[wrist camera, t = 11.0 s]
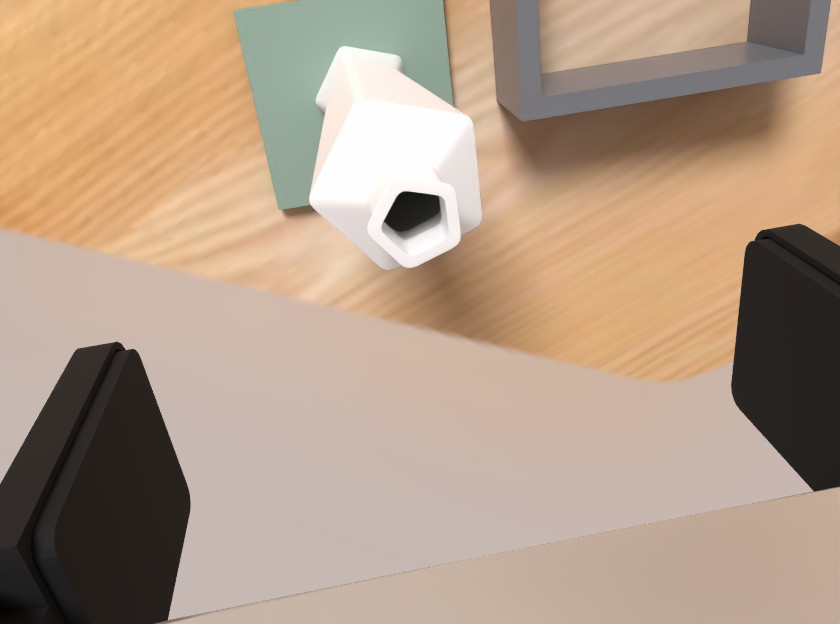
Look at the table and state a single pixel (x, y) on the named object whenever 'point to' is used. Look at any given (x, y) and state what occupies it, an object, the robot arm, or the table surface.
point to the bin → (653, 61)
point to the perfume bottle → (393, 162)
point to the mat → (310, 61)
